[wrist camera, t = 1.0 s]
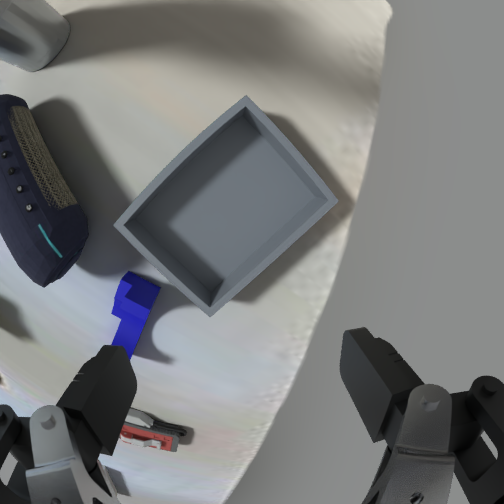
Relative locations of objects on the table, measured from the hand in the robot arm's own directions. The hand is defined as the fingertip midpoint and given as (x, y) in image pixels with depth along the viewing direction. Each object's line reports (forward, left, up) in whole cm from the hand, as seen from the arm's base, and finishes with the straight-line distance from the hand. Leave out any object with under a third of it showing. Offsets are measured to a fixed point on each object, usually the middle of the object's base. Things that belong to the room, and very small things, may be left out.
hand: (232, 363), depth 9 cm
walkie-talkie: (+12, -36, -23) cm, 44 cm away
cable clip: (-1, -17, -23) cm, 28 cm away
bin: (-2, +2, -22) cm, 23 cm away
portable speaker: (-22, -12, -23) cm, 34 cm away
